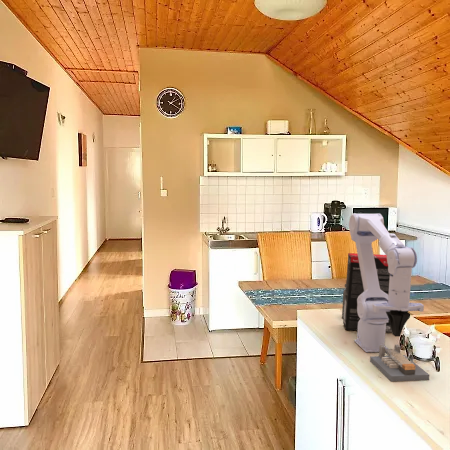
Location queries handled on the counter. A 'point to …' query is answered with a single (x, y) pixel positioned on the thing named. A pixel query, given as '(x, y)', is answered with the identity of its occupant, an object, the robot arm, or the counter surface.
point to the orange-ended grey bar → (400, 359)
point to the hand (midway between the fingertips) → (396, 335)
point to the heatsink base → (397, 367)
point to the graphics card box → (362, 288)
